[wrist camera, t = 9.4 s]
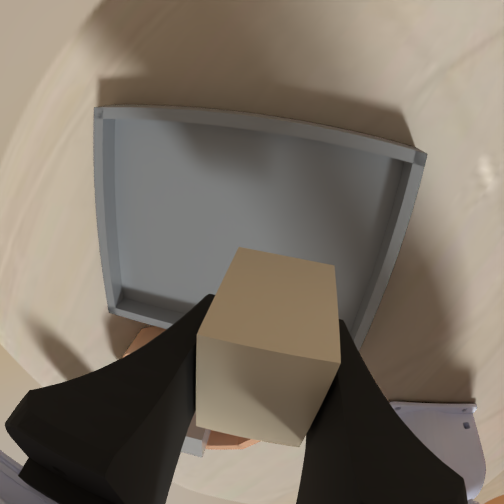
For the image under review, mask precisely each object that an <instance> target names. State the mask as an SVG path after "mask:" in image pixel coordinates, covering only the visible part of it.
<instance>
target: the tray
mask: <svg viewBox="0 0 504 504" xmlns="http://www.w3.org/2000/svg"><path fill="white" fill-rule="evenodd" d="M426 158H427V153H425V152H423V151H421V150H420V149H418V148H416V147H413V146H409V145H406V144H402V143H399V142H395V141H391V140H388V139H384V138H380V137H376V136H372V135H368V134H364V133H360V132H355V131H351V130H346V129H342V128H337V127H332V126H327V125H322V124H317V123H312V122H306V121H301V120H295V119H289V118H283V117H276V116H270V115H263V114H255V113H247V112H239V111H230V110H220V109H210V108H197V107H183V106H164V105H107V106H100V107H94V184H95V202H96V216H97V228H98V238H99V247H100V256H101V264H102V272H103V279H104V285H105V292H106V298H107V304H108V310H109V313H112V314H115V315H118V316H122V317H125V318H128V319H132V320H135V321H139V322H142V323H146V324H149V325H153V326H156V327H160V328H164V329H168V328H169V327H170V326H172V325H173V324H174V323H175V322H176V321H178V320H179V319H180V318H181V317H183V316H184V315H185V314H186V313H187V312H188V311H190V310H191V309H192V308H193V307H194V306H195V305H196V304H197V303H199V302H200V301H201V300H202V299H203V298H204V297H205V296H206V295H208V294H213V295H216V293H217V291H218V289H219V287H220V285H221V283H222V280H223V278H224V276H225V274H226V272H227V270H228V268H229V266H230V264H231V262H232V260H233V258H234V256H235V254H236V252H237V249H238V247H242V248H248V249H253V250H258V251H263V252H268V253H273V254H278V255H283V256H289V257H294V258H299V259H304V260H309V261H314V262H319V263H324V264H329V265H334V266H335V277H336V289H337V302H338V317H339V319H341V320H343V321H344V322H345V324H346V326H347V328H348V331H349V333H350V335H351V337H352V339H353V341H354V343H355V345H356V347H357V349H358V351H359V350H360V348H361V346H362V344H363V341H364V339H365V337H366V335H367V332H368V330H369V328H370V326H371V323H372V321H373V319H374V316H375V314H376V311H377V309H378V307H379V304H380V302H381V299H382V297H383V294H384V291H385V289H386V286H387V284H388V281H389V278H390V276H391V273H392V270H393V268H394V265H395V262H396V259H397V256H398V254H399V251H400V248H401V245H402V242H403V239H404V236H405V233H406V230H407V226H408V223H409V220H410V217H411V214H412V210H413V207H414V203H415V200H416V196H417V193H418V189H419V186H420V182H421V178H422V174H423V170H424V167H425V163H426Z"/></svg>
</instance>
